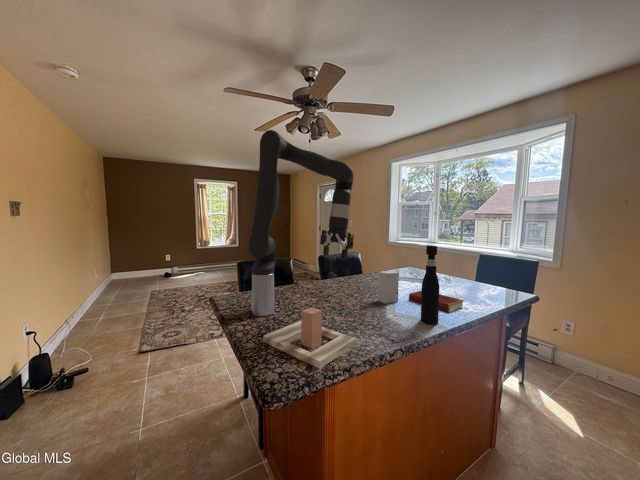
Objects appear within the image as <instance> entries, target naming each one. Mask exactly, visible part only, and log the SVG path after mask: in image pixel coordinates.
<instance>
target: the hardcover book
mask: <svg viewBox="0 0 640 480" xmlns="http://www.w3.org/2000/svg"><path fill="white" fill-rule="evenodd" d="M421 294H422V290H419V291H414V292H413V291H412V292H409V294H408V301H411V302H413V303H417V304H420V305H421ZM464 301H465V300H464V299H460V298H457V297H456V298H455V297H452V296H449V295H443V294H441V293H439V311H440V310H441V311H443V312H446V313H450V312H454V311H456V310H460V309H462V308H463V303H464Z"/></svg>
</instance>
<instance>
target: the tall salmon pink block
mask: <svg viewBox="0 0 640 480" xmlns="http://www.w3.org/2000/svg"><path fill="white" fill-rule="evenodd" d="M300 315H301V318H300V319H301V337H300V339H301V344H300V345H301V346H304V347H306V348H309V349H311V350H313V349H315V348H316V347H319V346H320V345H321V344H323V343H322V339H323V336H322V327H323V318H322V317H323V311H322V309H318V308H315V307H308V308H305V309H303V310H301V313H300Z"/></svg>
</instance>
